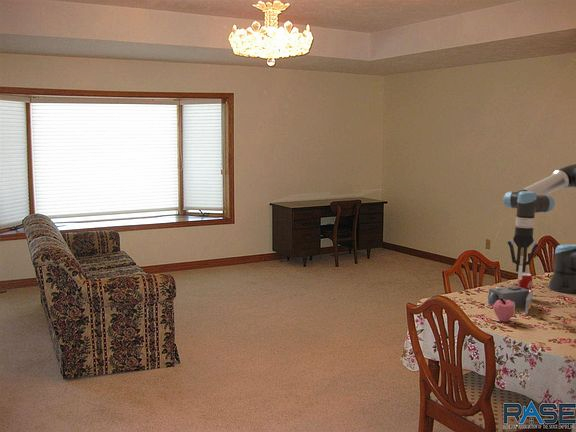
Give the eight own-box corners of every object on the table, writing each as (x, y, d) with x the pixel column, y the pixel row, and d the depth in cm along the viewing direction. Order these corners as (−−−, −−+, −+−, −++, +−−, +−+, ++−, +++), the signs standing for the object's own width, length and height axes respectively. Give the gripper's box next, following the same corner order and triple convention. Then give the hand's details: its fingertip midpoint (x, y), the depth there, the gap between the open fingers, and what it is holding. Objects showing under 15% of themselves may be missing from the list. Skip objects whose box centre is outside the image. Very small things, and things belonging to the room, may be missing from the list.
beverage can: (531, 300, 293) (533, 276, 291) (517, 299, 294) (519, 275, 292) (529, 297, 299) (531, 273, 297) (515, 296, 300) (517, 272, 298)
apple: (511, 325, 256) (513, 302, 254) (490, 321, 260) (491, 298, 259) (516, 319, 264) (518, 296, 262) (495, 315, 268) (497, 293, 267)
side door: (528, 304, 285) (529, 289, 284) (532, 305, 284) (534, 290, 283) (524, 314, 271) (525, 298, 270) (529, 314, 270) (530, 299, 269)
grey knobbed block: (514, 299, 294) (516, 283, 293) (528, 305, 286) (530, 288, 284) (484, 303, 287) (485, 287, 285) (498, 309, 278) (499, 292, 277)
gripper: (507, 226, 270) (503, 278, 274) (539, 229, 265) (534, 283, 268) (509, 224, 277) (505, 275, 280) (541, 227, 271) (536, 279, 275)
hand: (519, 279), depth 274 cm, fingers closed
